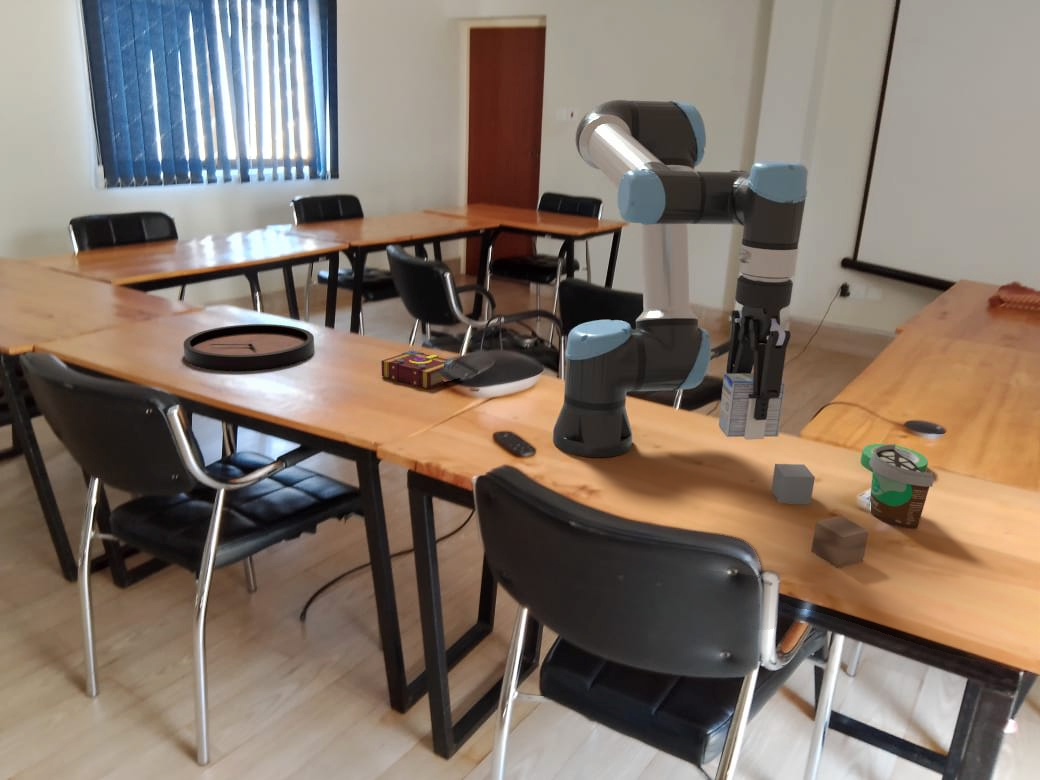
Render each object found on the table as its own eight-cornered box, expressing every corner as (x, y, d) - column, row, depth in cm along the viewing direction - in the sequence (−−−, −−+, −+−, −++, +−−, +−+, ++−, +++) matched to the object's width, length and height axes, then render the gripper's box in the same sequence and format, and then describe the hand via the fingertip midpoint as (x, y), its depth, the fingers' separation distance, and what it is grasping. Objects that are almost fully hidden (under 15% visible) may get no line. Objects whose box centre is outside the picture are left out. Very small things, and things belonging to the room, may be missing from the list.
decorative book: (429, 391, 182) (429, 370, 180) (376, 377, 190) (376, 357, 189) (460, 379, 191) (460, 359, 189) (408, 366, 199) (408, 347, 198)
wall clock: (338, 333, 212) (257, 363, 185) (339, 348, 213) (258, 380, 186) (244, 318, 223) (154, 345, 196) (245, 332, 225) (156, 361, 197)
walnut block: (811, 552, 118) (816, 521, 117) (835, 545, 120) (841, 515, 119) (837, 568, 114) (843, 537, 112) (862, 561, 116) (868, 530, 114)
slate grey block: (771, 490, 138) (775, 463, 136) (800, 491, 138) (804, 464, 136) (780, 504, 133) (784, 476, 131) (810, 504, 133) (814, 477, 131)
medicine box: (768, 427, 123) (775, 372, 120) (779, 438, 118) (786, 382, 116) (717, 427, 122) (723, 372, 119) (726, 438, 118) (733, 381, 115)
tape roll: (920, 460, 152) (922, 447, 152) (930, 484, 142) (933, 470, 142) (857, 452, 155) (859, 439, 155) (863, 475, 145) (865, 461, 144)
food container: (847, 497, 136) (857, 442, 132) (883, 497, 136) (893, 442, 133) (884, 533, 124) (895, 474, 121) (922, 533, 124) (935, 474, 121)
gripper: (714, 265, 120) (698, 411, 128) (771, 290, 104) (748, 456, 111) (760, 265, 122) (742, 409, 129) (824, 289, 105) (798, 453, 113)
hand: (745, 431), depth 120 cm, fingers closed on medicine box, 5 cm apart
